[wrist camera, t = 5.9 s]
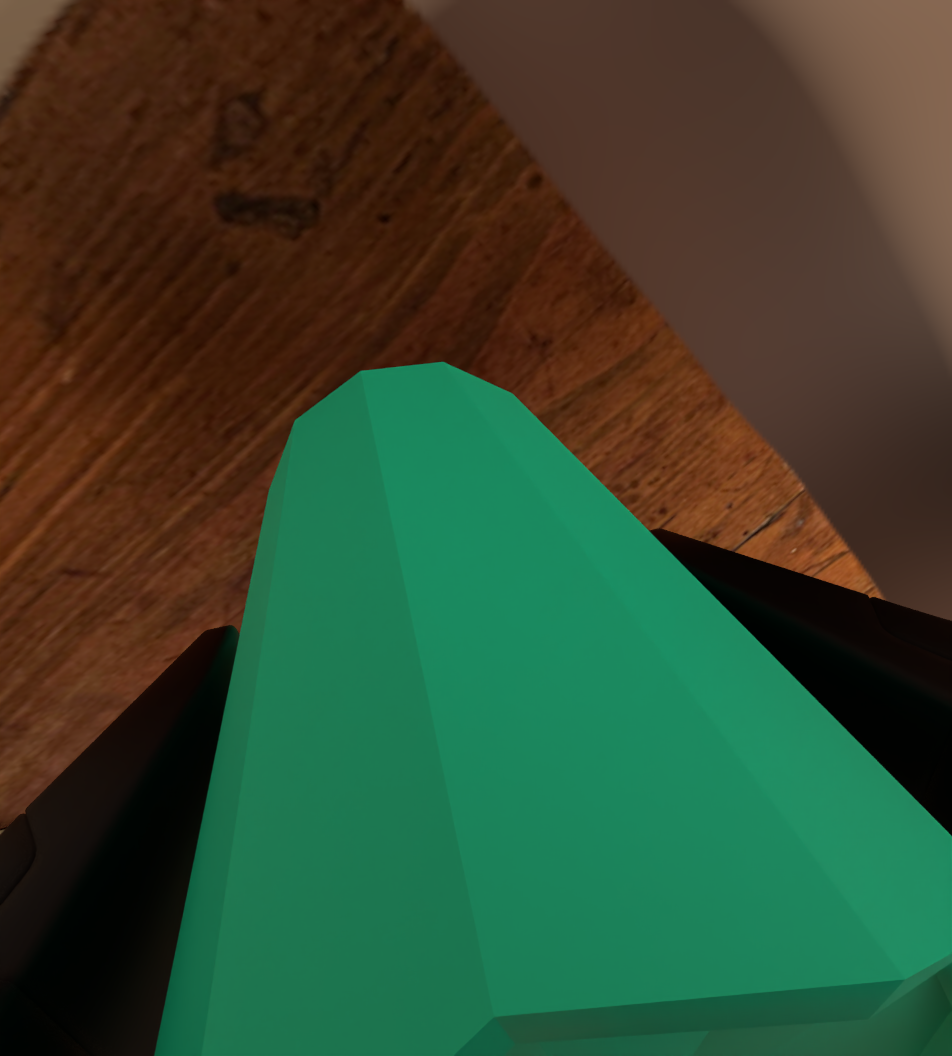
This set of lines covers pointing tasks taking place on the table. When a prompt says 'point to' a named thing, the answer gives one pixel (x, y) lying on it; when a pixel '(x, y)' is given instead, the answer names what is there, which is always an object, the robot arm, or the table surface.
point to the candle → (530, 780)
